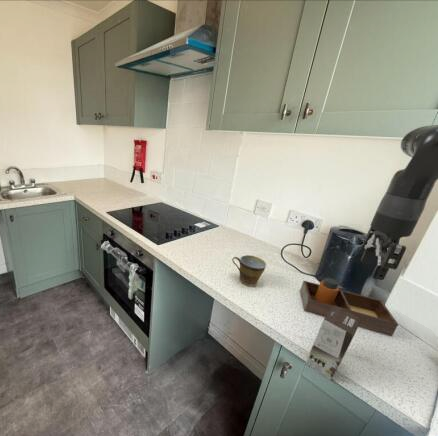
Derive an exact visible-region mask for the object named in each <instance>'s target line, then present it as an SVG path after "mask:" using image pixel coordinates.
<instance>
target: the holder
mask: <svg viewBox="0 0 438 436" xmlns="http://www.w3.org/2000/svg"><path fill="white" fill-rule="evenodd" d="M319 284H320V283H319ZM319 284H318V283H316V282H311V281H307V280H303V281H302V284H301V287H300V290H299V293H300V297H301V302H302V307H303V311H304V312H306V313H309V314H313V315H316V316H319V317H323V318H325V317H326V316H327V314H328V313H329V311H330V310H331V308H332V307H333V306H336V307H338V308H340V309H342V310H345V311H347V312H349V313H351V314H353V315H355V316H357V317H359V318H361V321H360V323H359V326H358V328H361V329H364V330H367V331H371V332H375V333H377V334H381V335H385V336H388V337H393V335H394V333H395V331H396V330H397V328H398V326H399V324H398V322H397V320H396V319H395V317H394V316H393V314H392V313H391V312H390V310H389V309H388V307H387V306H386V305H385V303H384V301H383V300H381V299H378V298H374V297H370V296H367V295H363V294H358V293H356V292H355V293H354V292H351V291H346V290H342V289H339V291H338V293H337V296H336V298H335V300H334V303H333V305H330V304H327V303H323V302H319V301H316V300H314V297H315V295H316V292H317V290H318V287H319Z"/></svg>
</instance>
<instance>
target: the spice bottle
mask: <svg viewBox="0 0 438 436" xmlns="http://www.w3.org/2000/svg"><path fill="white" fill-rule="evenodd" d="M338 285H339V281H337V280H336V279H334V278H332V277H325V278H324V279H323V280H321V281H320V282H319V287H318V290H317V292H316V295H315V297H314V300H316V301H319V302H323V303H327V304H330V305H333V303H334V300H335V298H336V296H337V293H338V291H339V290H340V288H339V286H338Z"/></svg>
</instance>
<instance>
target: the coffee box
mask: <svg viewBox="0 0 438 436" xmlns="http://www.w3.org/2000/svg"><path fill="white" fill-rule="evenodd" d="M360 321H361V318H359V317H357V316H355V315H353V314H351V313H349V312H347V311H345V310H342V309H340V308H338V307H336V306H333V307H332V308H331V310H330V311H329V313H328V314H327V316H326V317H323V321H322V323H321V325H320V327H319V330H318V332H317V335H316V336H315V337H316V338H315V339H314V342H313V344H312V347H311V349H310V351H309V353H308V356H307V358H306V361H305V364H306V365H307V366H308V367H309V368H311V369H313V370H314V371H315V372H317V373H319V374H320V375H321V376H323V377H325V379H327V380H329V381H332V380H333V379H332V378H333V377H334V375H335V373H336V372H337V370H338V368H339V366H340V365H341V363H342V361H343V359H344V357H345V355H346V354H347V351H348V349H349V347H350V345H351V343H352V341H353V338H354V337H355V335H356V332H357V330H358V328H359V327H358V326H359V323H360Z"/></svg>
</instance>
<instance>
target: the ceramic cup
mask: <svg viewBox="0 0 438 436" xmlns="http://www.w3.org/2000/svg"><path fill="white" fill-rule="evenodd" d="M234 260H237V261H238V262H239V266H238V265H237V263H236V262H235V261H234ZM231 261H232V263H233V264H234V265H235V266H236V268H237V269H238V271H239V282H240V283H241V284H243V286H247V287H256V286H257V284H258V281H259V280H260V278H261V275H263V273H264V272H265V269H266V268H267V262H265V260H264V259H262V258H260V257H257V256H255V255H249V254H244V255H241V256H240V257H237V256H234V257H233V258H232V260H231Z"/></svg>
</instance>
